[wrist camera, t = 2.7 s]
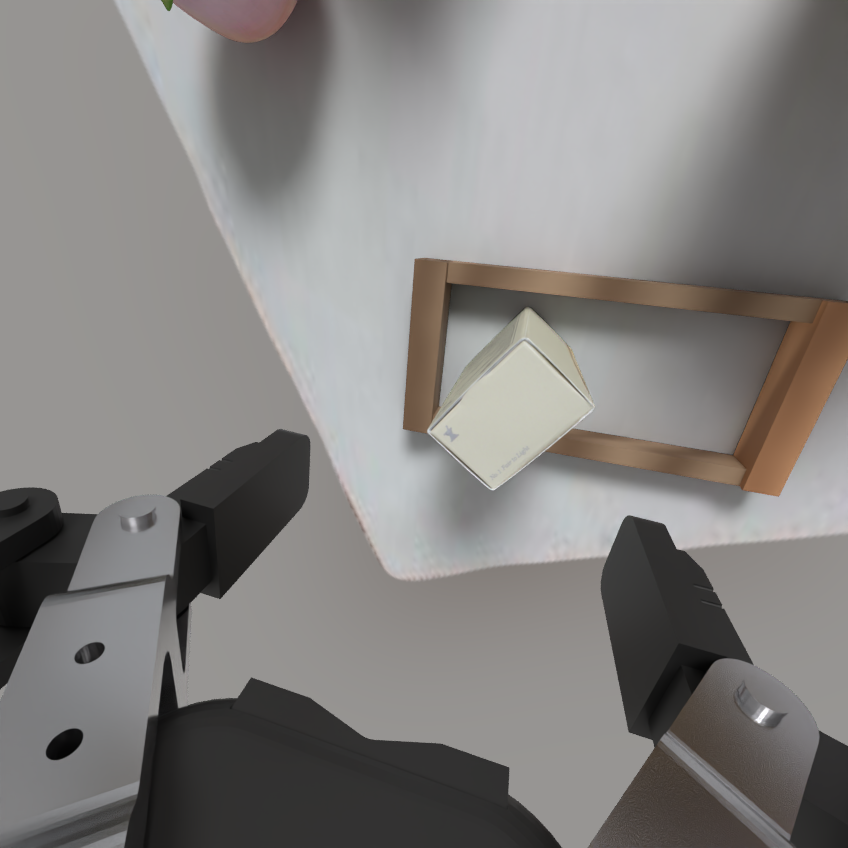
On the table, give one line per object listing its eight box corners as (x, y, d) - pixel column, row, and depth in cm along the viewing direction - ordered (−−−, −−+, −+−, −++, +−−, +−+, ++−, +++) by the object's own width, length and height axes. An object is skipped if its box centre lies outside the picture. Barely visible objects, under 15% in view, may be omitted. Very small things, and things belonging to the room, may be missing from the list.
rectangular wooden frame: (841, 300, 24) (874, 306, 21) (759, 476, 28) (778, 496, 26) (424, 257, 28) (414, 259, 26) (412, 416, 33) (402, 429, 30)
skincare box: (506, 408, 31) (490, 498, 20) (461, 366, 30) (420, 434, 19) (575, 346, 28) (602, 412, 17) (528, 299, 28) (523, 334, 17)
